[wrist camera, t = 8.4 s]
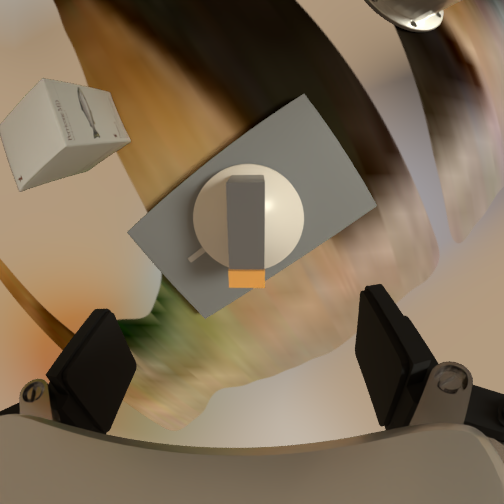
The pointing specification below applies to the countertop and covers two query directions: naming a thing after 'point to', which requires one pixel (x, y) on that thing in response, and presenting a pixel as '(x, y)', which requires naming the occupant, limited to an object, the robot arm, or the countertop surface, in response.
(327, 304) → the countertop surface
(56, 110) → the supplement box
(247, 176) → the dial
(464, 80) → the countertop surface
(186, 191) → the dial base
